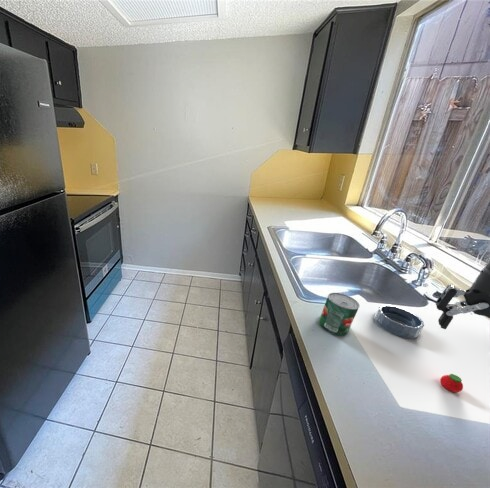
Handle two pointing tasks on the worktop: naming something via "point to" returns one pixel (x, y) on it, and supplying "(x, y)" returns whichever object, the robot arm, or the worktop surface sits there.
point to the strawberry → (451, 383)
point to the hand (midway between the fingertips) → (468, 335)
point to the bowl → (401, 315)
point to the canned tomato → (338, 313)
